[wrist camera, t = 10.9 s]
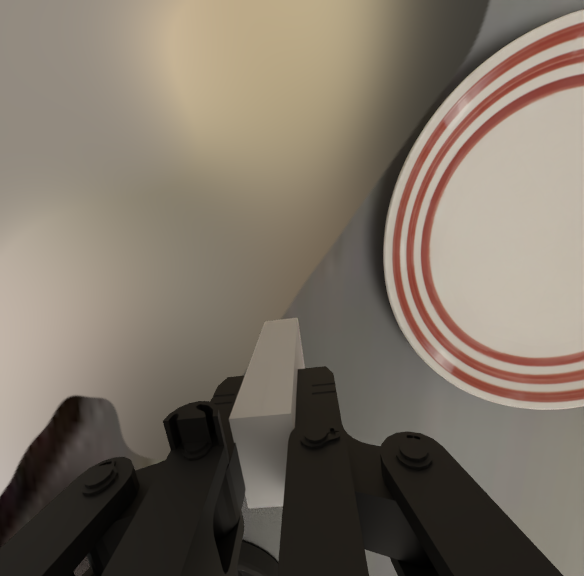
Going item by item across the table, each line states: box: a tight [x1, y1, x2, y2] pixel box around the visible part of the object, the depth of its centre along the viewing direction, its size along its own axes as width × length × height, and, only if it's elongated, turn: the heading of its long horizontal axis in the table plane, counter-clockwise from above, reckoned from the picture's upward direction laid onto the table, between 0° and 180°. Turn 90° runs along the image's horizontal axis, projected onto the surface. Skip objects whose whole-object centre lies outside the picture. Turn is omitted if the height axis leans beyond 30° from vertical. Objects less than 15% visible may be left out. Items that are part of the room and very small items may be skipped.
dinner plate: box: [383, 9, 584, 410], centre depth 22 cm, size 28×27×3 cm
